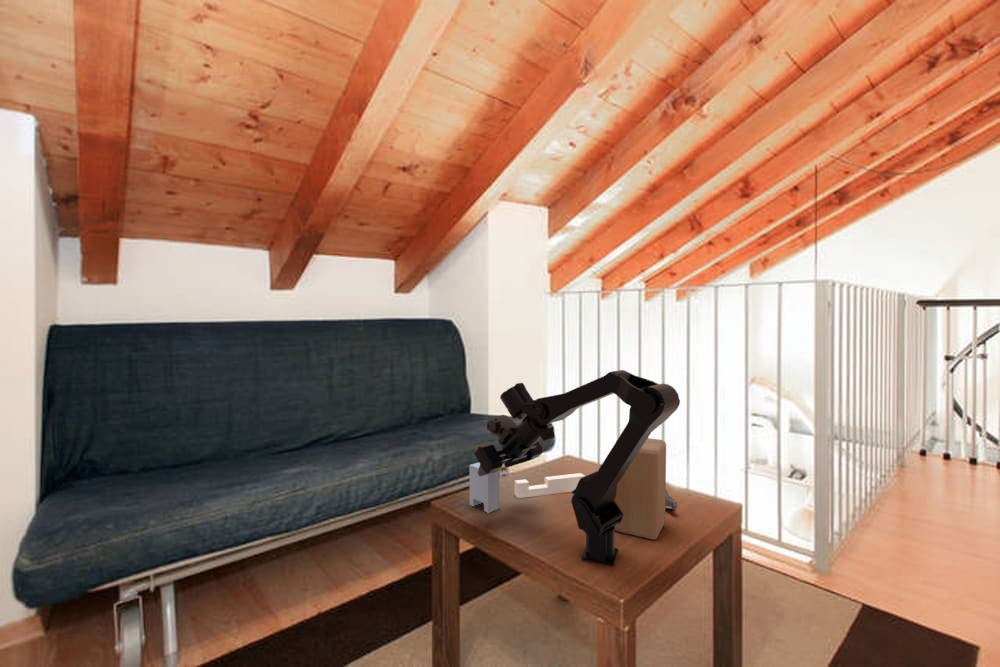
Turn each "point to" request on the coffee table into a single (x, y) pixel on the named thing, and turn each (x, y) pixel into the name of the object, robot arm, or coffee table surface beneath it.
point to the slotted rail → (548, 486)
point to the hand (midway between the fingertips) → (492, 470)
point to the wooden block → (643, 492)
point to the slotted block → (484, 489)
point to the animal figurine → (670, 502)
